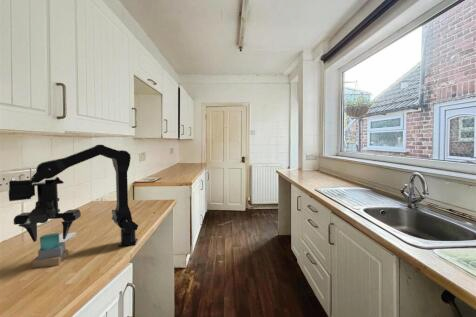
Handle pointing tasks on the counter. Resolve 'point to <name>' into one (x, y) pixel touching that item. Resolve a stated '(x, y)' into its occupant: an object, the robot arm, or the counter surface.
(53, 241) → the teal round block
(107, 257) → the counter surface
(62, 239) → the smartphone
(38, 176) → the robot arm
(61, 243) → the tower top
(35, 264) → the tower base
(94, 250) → the counter surface
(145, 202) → the counter surface
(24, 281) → the counter surface
